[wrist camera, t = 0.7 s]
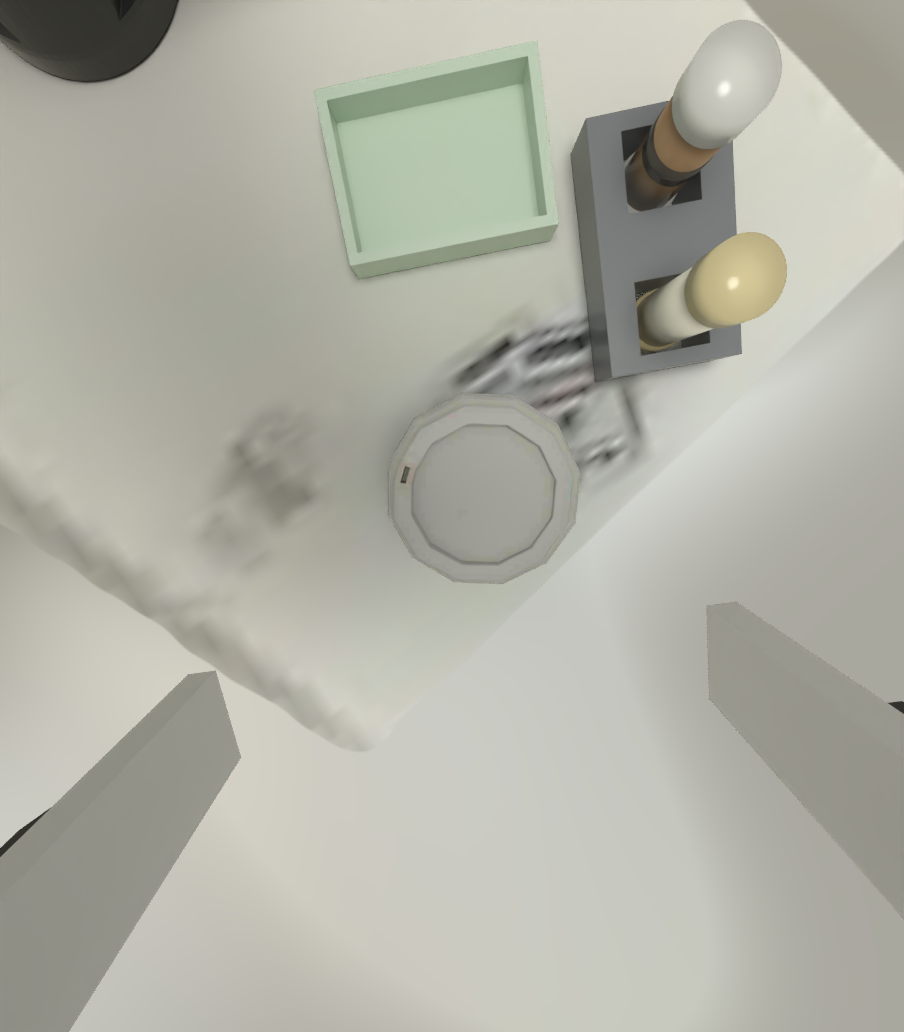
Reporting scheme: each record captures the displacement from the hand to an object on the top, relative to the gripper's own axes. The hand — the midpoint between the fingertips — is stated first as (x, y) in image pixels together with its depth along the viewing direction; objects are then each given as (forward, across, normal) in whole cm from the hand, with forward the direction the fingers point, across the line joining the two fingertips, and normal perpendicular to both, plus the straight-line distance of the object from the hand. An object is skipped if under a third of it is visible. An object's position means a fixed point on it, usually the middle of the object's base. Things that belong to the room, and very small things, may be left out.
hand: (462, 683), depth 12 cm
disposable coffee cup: (+27, +2, +2) cm, 27 cm away
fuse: (+27, +16, +11) cm, 33 cm away
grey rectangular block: (+27, +16, +16) cm, 35 cm away
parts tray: (+27, +2, +24) cm, 36 cm away
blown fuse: (+27, +16, +20) cm, 37 cm away
